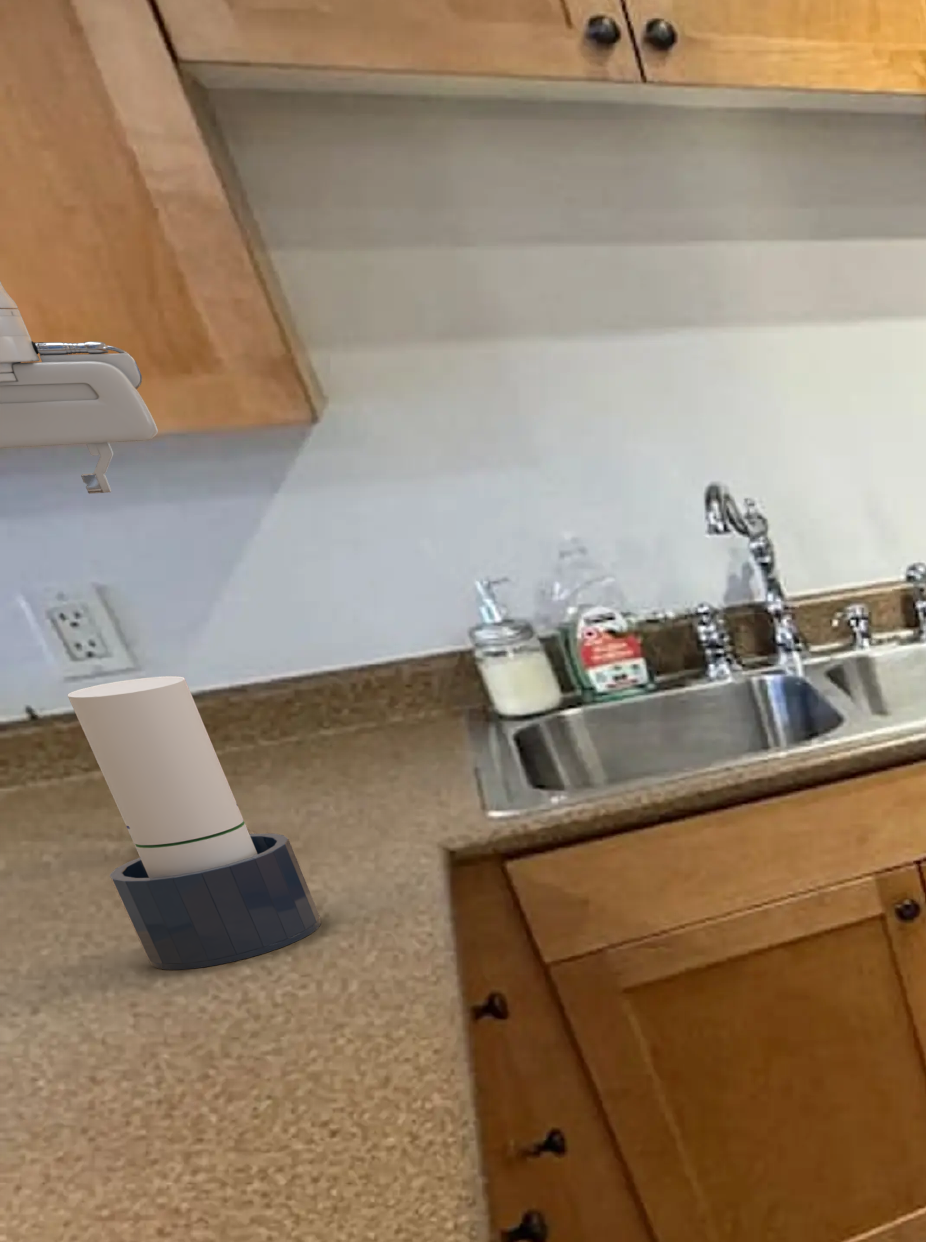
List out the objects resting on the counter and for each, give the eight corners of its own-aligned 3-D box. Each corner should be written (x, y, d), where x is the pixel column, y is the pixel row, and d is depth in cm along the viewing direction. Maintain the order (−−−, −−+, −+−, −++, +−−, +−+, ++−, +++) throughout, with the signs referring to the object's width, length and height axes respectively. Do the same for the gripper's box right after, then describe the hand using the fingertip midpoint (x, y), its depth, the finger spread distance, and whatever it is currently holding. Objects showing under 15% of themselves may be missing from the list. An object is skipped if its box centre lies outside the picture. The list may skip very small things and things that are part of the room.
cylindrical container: (277, 914, 131) (177, 672, 122) (294, 931, 127) (192, 683, 119) (174, 940, 126) (61, 689, 117) (189, 959, 122) (73, 701, 113)
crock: (112, 971, 121) (70, 882, 118) (237, 917, 132) (202, 834, 129) (239, 968, 121) (200, 879, 118) (354, 914, 132) (321, 831, 129)
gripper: (129, 340, 128) (185, 484, 133) (-218, 347, 114) (-141, 507, 119) (126, 340, 124) (185, 489, 129) (-234, 347, 110) (-154, 513, 115)
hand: (25, 498), depth 124 cm, fingers open, 8 cm apart
